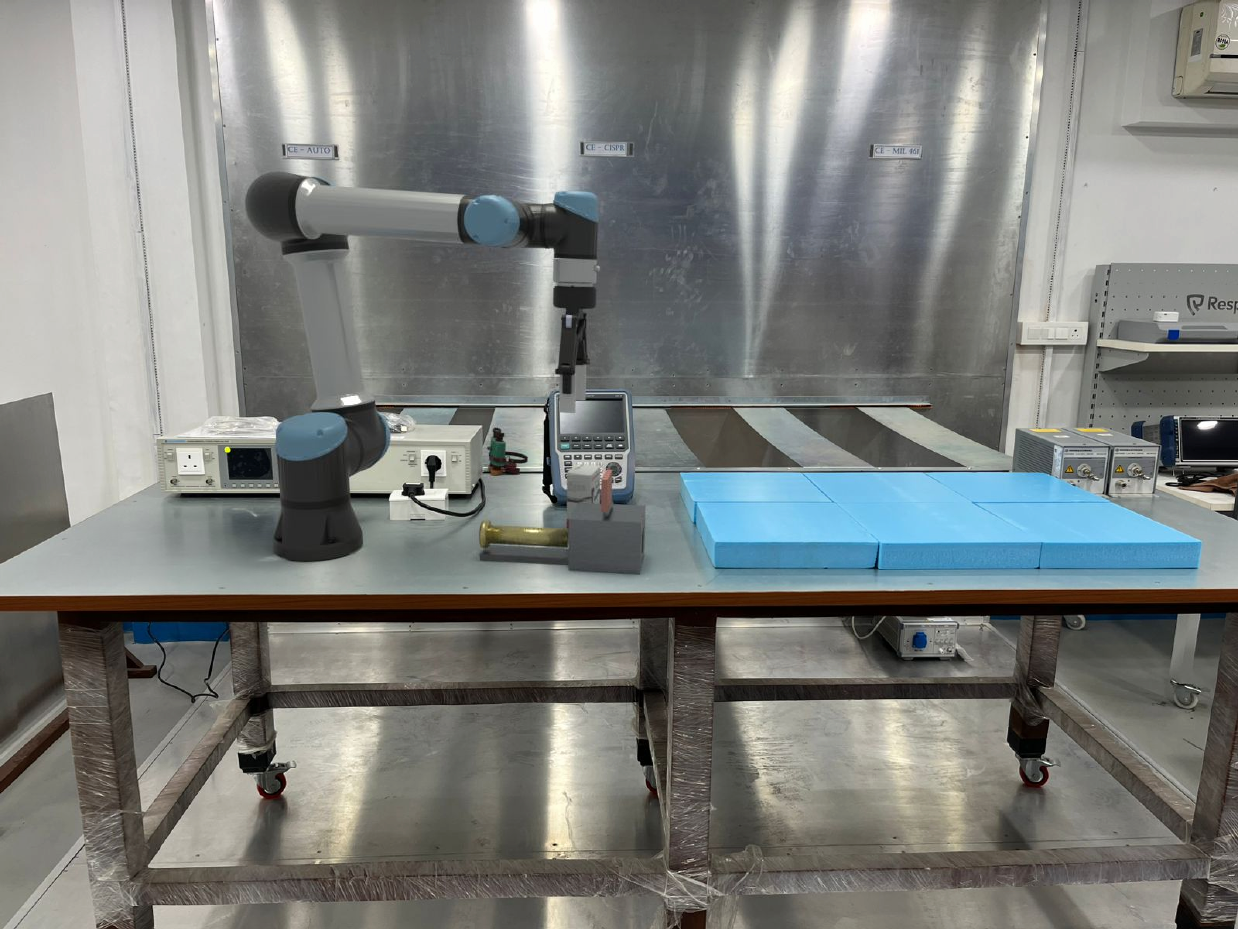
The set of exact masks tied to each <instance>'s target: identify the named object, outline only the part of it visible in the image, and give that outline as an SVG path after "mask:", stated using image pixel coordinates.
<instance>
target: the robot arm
mask: <svg viewBox="0 0 1238 929" xmlns="http://www.w3.org/2000/svg"><path fill="white" fill-rule="evenodd" d="M244 199H245V200H244V205H245V206H244V207H245V213H246V215H247V219H248V220H249V223H250V224H251V226H252V227H253V228H254V229H255V230H256V231H257V232H258V234H260V235H262V236H263V237H264V238H266V239H269V240H271V241H273V242H277V243H280V249H281V254H282V258H283V259H284V260H285V261H287V262H288V263H289V264H291V265H292V267H293V271H294V275H295V282H296V286H297V291H298V293H297V294H298V296H299V302H300V308H301V309H300V310H301V312H302V314H301V315H302V319H303V326H304V330H305V335H306V340H307V345H308V352H309V357H310V362H311V368H312V373H313V379H314V384H315V389H316V395H317V396H316V399H315V401H314V402H313V403H312V405H311V406H310V410H311V412H307V413H304V414H302V415H301V414H299V415H294V416H291V417H288V418H286V419H284V420H283V421H281V422H280V423H279V424H278V425H277V427H276V430H275V443H274V450H275V452H276V464H277V465H276V466H277V473H278V474H277V475H278V477H277V478H278V484H279V485H278V487H279V495H280V496H279V498H280V512H279V515H278V519H277V524H276V527H275V530H274V535H273V538H272V545H273V554H275V555H276V556H277V557H279V558H282V559H286V560H289V561H290V560H291V561H298V562H299V561H300V562H302V561H305V562H308V561H309V562H312V561H324V560H325V561H326V560H331V559H336V558H341V557H344V556H346V555H351V554H353V553H355V552H357V551H359V550H360V549H361V548H362V547H363V545H364V534H363V533H364V532H363V529H362V527H361V525H360V522H359V520H358V518H357V514H356V512H355V510H354V508H353V505H352V503H351V486H350V477H352V476H355V475H356V474H358V473H360V472H363V471H366V470H368V469H371V468H372V467H373V466H375V465H376V464H377V463H378V462H379V461H381V460H382V459H383V458H384V456H385V455H386V454H387V452H388V451H389V450H388V449H389V447H390V444H391V429H390V426H389V424H388V421H387V419H386V418H385V416H384V415H382V414H381V413H380V412H379V411H378V410H377V404H376V399H375V397H374V396H373V395H371V394H370V393H368V391H366V389H365V384H364V382H365V381H364V377H363V371H362V366H361V359H360V354H359V348H358V343H357V338H356V337H357V336H356V331H355V324H354V319H353V315H352V314H353V313H352V308H351V307H352V306H351V302H350V301H351V300H350V297H349V296H350V295H349V290H348V284H347V278H346V273H345V267H344V260H345V259H346V258H347V256H348V255H349V254H350V246H349V245H350V244H349V238H348V237H350V236H352V237H368V238H378V239H379V238H381V239H396V240H406V241H407V240H408V241H409V240H410V241H422V242H433V243H434V242H435V243H437V242H438V243H451V244H461V245H462V244H465V245H473V246H474V245H475V246H485V247H490V248H491V247H493V248H500V249H546V250H547V249H548V250H550V249H552V250H553V259H552V260H553V262H552V263H553V264H552V265H553V269H552V270H553V271H552V281H553V282H554V283H556V285H554V287H553V289H552V290H553V291H552V304H553V307H554V308H557V309H565V314H562V315H561V317H560V318H561V324H560V325H561V330H560V341H559V342H560V343H559V350H558V353H559V354H558V364H557V368H555V370H554V372H555V373H554V374H555V375H559V392H558V393H559V394H558V397H559V399H558V400H559V401H558V402H559V403H558V406H559V407H558V412H559V413H563V414H564V413H568V414H575V413H576V407H577V406H576V404H577V403H576V401H586V400H587V399H586V397H587V395H586V393H587V391H586V390H587V387H586V386H587V385H586V384H587V365H591V359H590V358H589V355H588V341H587V340H588V339H587V338H588V336H587V335H588V334H587V324H588V321H587V320H588V319H587V311H585V310H591V309H595V308H596V307H597V292H598V291H597V288H596V287H595V286H593V285H594V284H596V283H597V272H600V271H601V267H600V265H597V264H598V263H597V262H598V241H599V239H598V238H599V222H600V220H599V207H598V206H599V205H598V203H599V202H598V197H597V196H596V194H594V193H593V192H590V191H580V190H579V191H578V190H560V191H559V190H558V191H556V192H555V194H554V198H553V200H552V202H549V203H535V202H533V203H532V202H520V201H514V200H510V199H507V198H504V197H503V196H501V195H494V194H485V195H468V194H467V195H466V194H459V193H458V194H457V193H454V194H453V193H444V192H443V193H441V192H430V191H429V192H427V191H426V192H425V191H414V190H413V191H411V190H410V191H409V190H397V189H383V188H366V187H354V186H353V187H352V186H337V185H335V183H334V184H333V183H332V182H330V181H327V180H325V179H323V178H320V177H317V176H305V175H301V174H295V173H290V172H287V171H286V172H285V171H270V172H265V173H264V174H263V173H262V174H261V175H260V176H258V177H257V178H255V179H254V180H253V182H251V183H250V185H249V187H248V189H247V191H246V194H245V198H244Z"/></svg>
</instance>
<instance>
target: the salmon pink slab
mask: <svg viewBox="0 0 1238 929" xmlns="http://www.w3.org/2000/svg"><path fill="white" fill-rule="evenodd" d="M612 497H613V469H606V470H605V471H604V473H603V475H602V478H600V504H601V512H604V513H603V516H604V517H605V518H607V517H608V516H609V514H610V511H611V509H612V506H613V504H614V501H613V498H612Z"/></svg>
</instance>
